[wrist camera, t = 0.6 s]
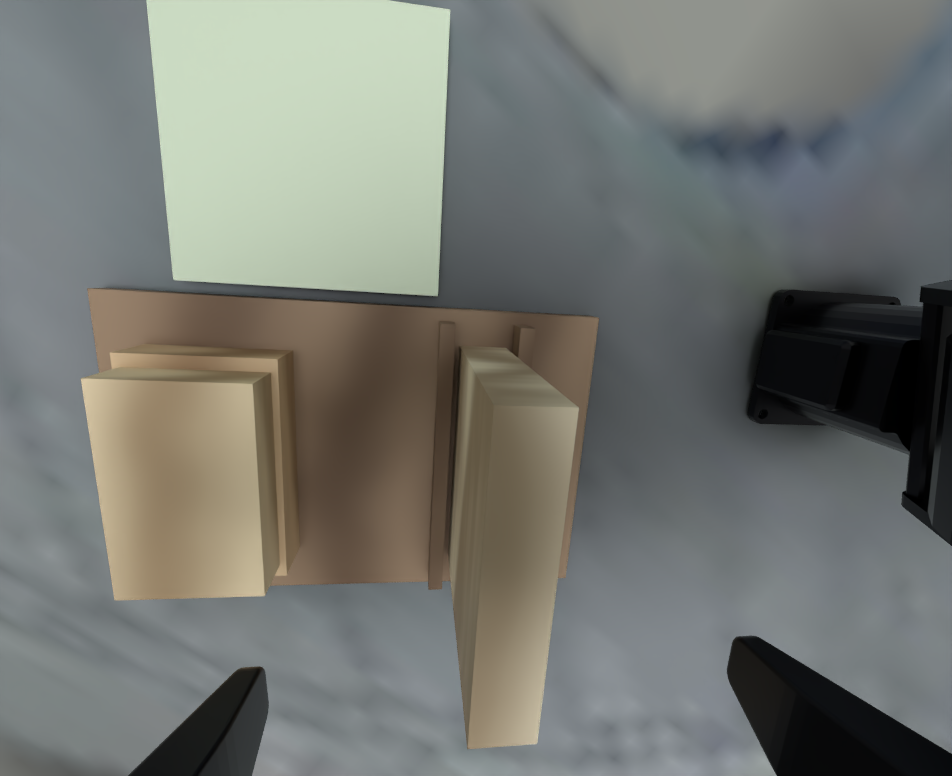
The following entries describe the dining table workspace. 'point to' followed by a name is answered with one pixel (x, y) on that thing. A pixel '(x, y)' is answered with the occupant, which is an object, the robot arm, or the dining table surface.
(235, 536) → the pine offcut
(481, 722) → the birch board
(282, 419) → the oak offcut
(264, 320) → the walnut stand
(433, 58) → the sage pad
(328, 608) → the dining table surface
